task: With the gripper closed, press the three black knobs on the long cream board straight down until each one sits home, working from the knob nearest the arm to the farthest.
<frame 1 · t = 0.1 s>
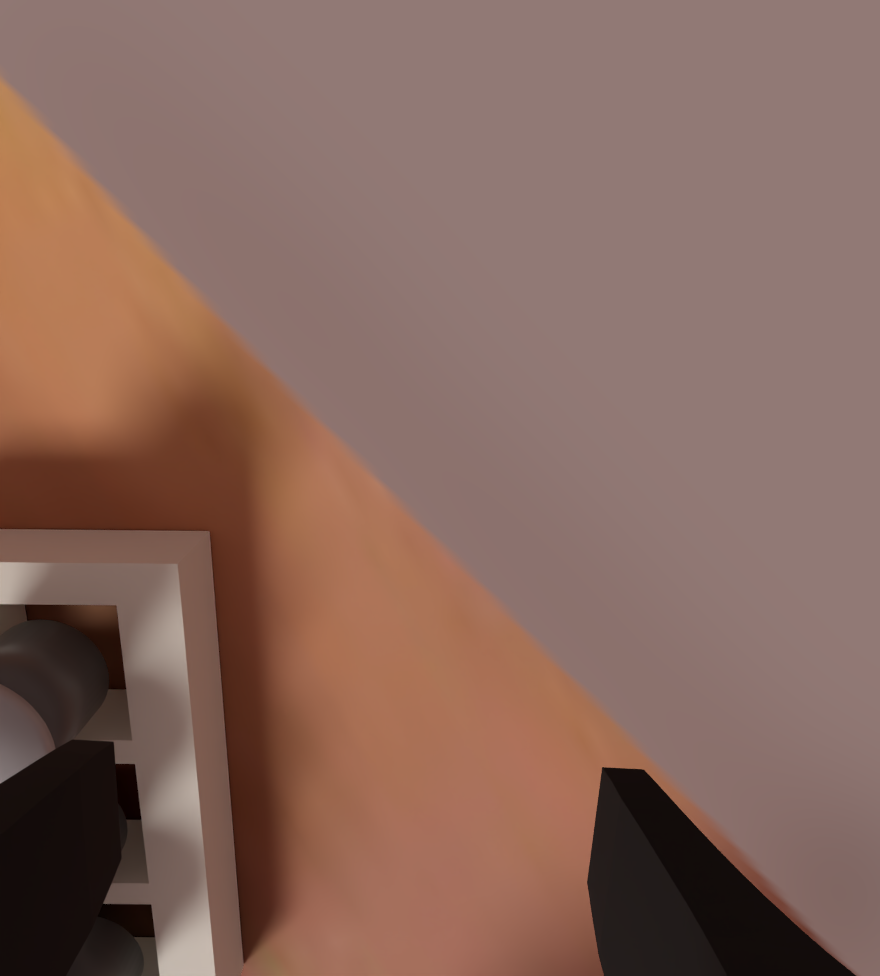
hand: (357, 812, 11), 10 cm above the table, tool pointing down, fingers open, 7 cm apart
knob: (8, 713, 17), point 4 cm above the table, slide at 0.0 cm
knob middle: (35, 876, 18), point 4 cm above the table, slide at 0.0 cm
knob board: (112, 766, 22), on the table
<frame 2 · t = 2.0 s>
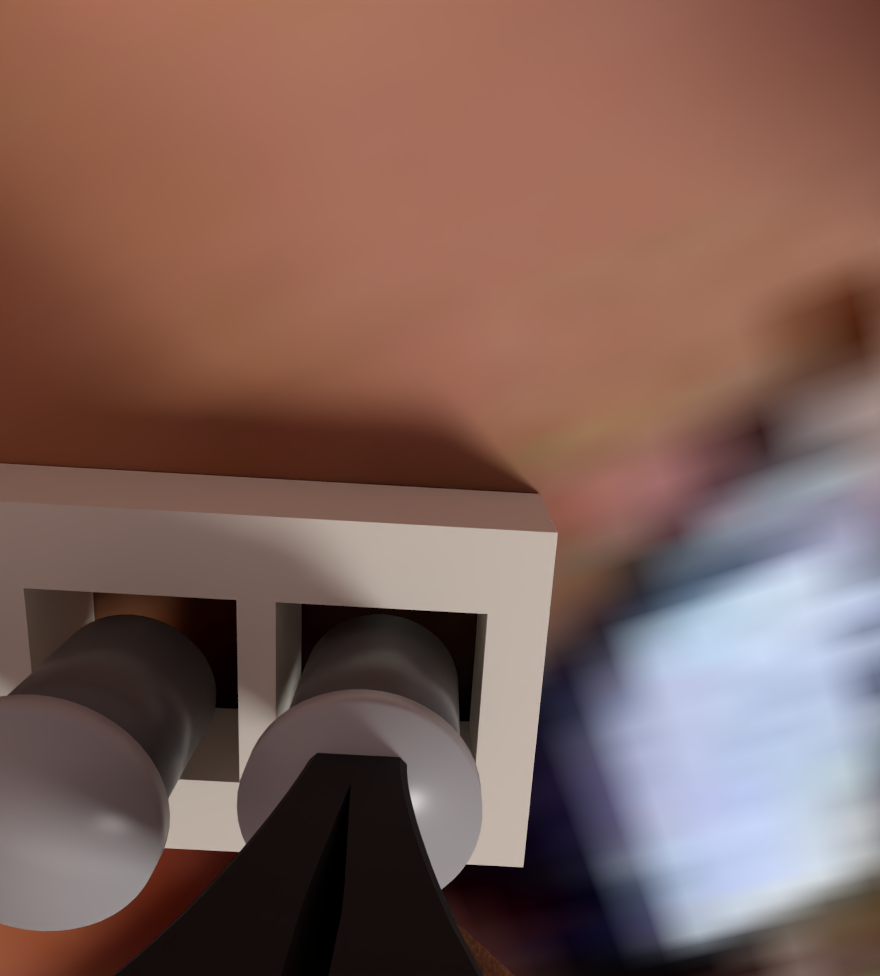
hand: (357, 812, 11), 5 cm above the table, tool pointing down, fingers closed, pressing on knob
knob middle: (90, 747, 12), point 4 cm above the table, slide at 0.0 cm
knob board: (182, 628, 16), on the table
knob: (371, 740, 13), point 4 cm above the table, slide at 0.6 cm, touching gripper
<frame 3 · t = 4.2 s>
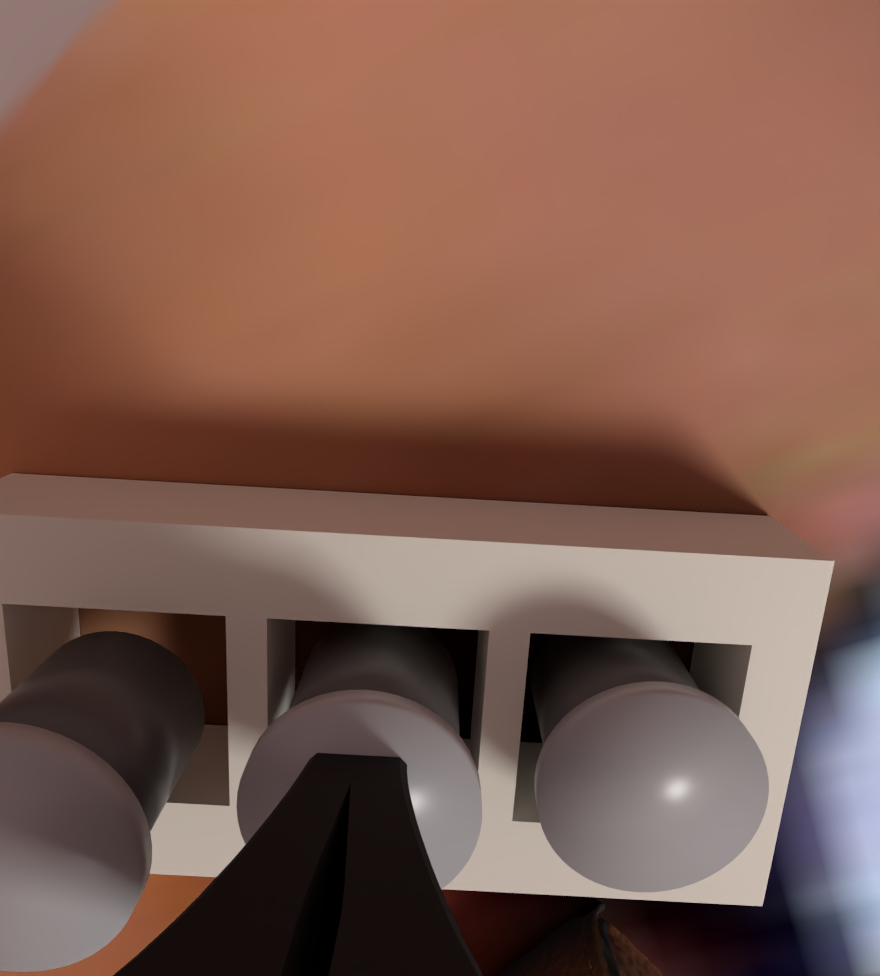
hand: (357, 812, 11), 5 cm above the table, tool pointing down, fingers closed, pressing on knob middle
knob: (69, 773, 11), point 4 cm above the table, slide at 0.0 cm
knob middle: (371, 740, 13), point 3 cm above the table, slide at 1.3 cm, touching gripper
knob board: (385, 654, 15), on the table
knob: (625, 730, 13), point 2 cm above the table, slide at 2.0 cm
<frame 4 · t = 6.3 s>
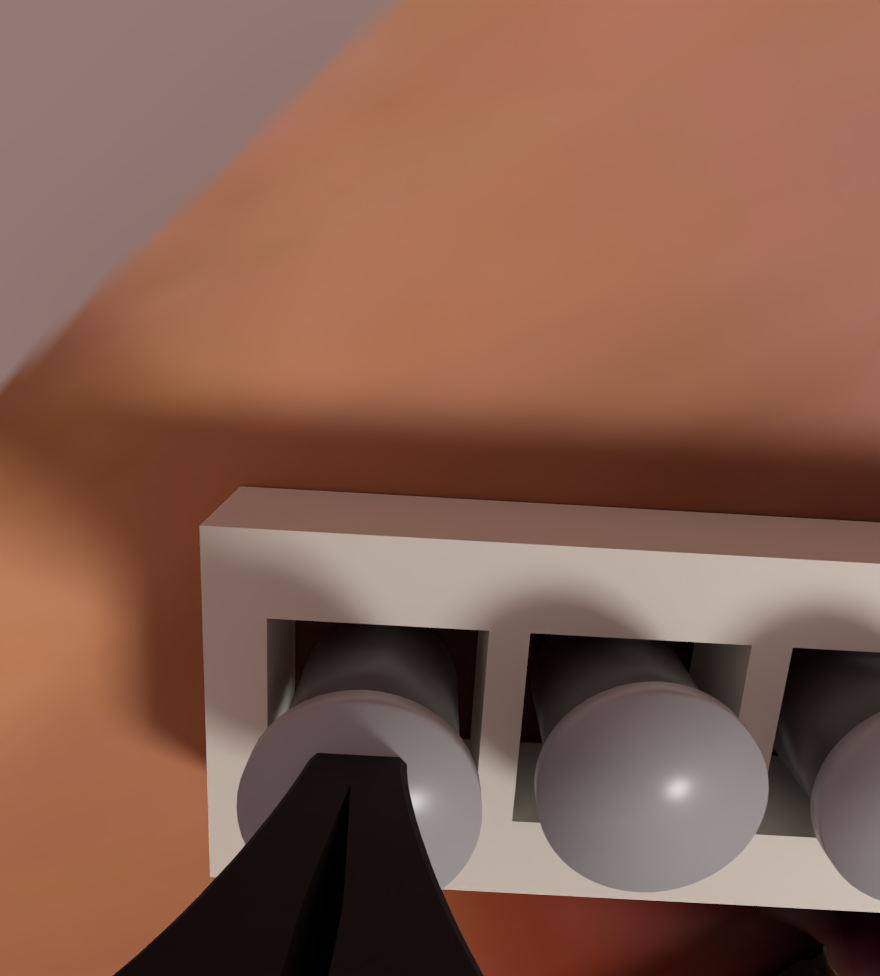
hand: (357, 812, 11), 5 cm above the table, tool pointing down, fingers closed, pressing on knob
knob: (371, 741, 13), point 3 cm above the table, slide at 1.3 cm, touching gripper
knob middle: (625, 731, 13), point 2 cm above the table, slide at 2.0 cm
knob board: (599, 666, 15), on the table
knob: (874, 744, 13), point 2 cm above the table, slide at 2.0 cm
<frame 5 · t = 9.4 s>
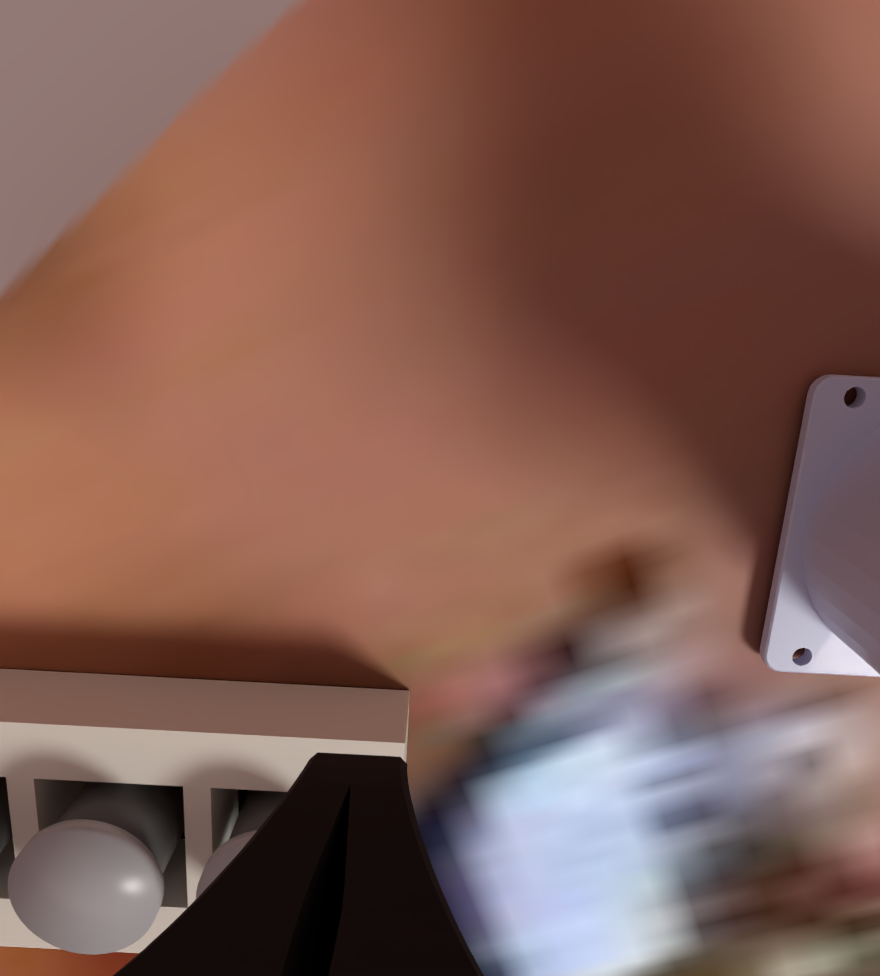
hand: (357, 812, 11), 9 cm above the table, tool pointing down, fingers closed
knob middle: (115, 840, 19), point 2 cm above the table, slide at 2.0 cm
knob board: (149, 783, 22), on the table
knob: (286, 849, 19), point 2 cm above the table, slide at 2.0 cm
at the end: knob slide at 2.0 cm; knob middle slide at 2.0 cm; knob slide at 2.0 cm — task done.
